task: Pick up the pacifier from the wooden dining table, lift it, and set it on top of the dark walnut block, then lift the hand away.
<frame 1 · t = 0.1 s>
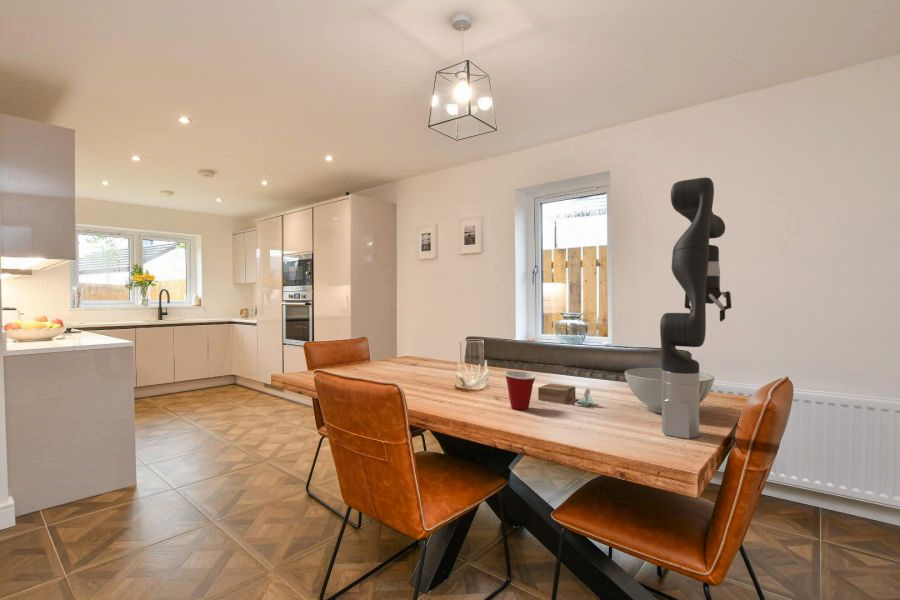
hand: (707, 320, 160), 29 cm above the table, fingers open, 8 cm apart
plastic cup: (520, 409, 153), on the table
walnut block: (556, 400, 167), on the table
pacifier: (583, 405, 158), on the table
decorative bowl: (667, 410, 150), on the table
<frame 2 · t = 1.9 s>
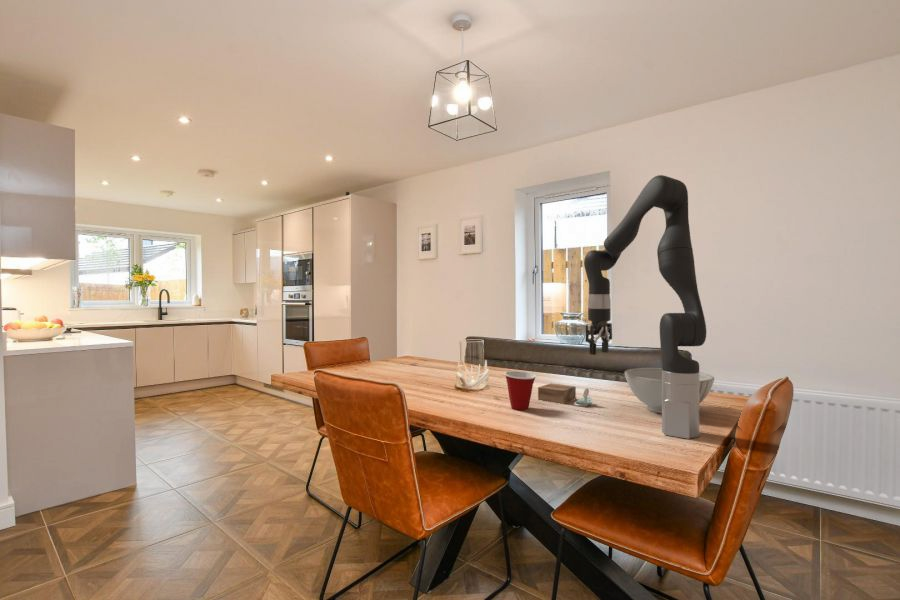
hand: (599, 353, 159), 18 cm above the table, fingers open, 8 cm apart
nothing on the table moved.
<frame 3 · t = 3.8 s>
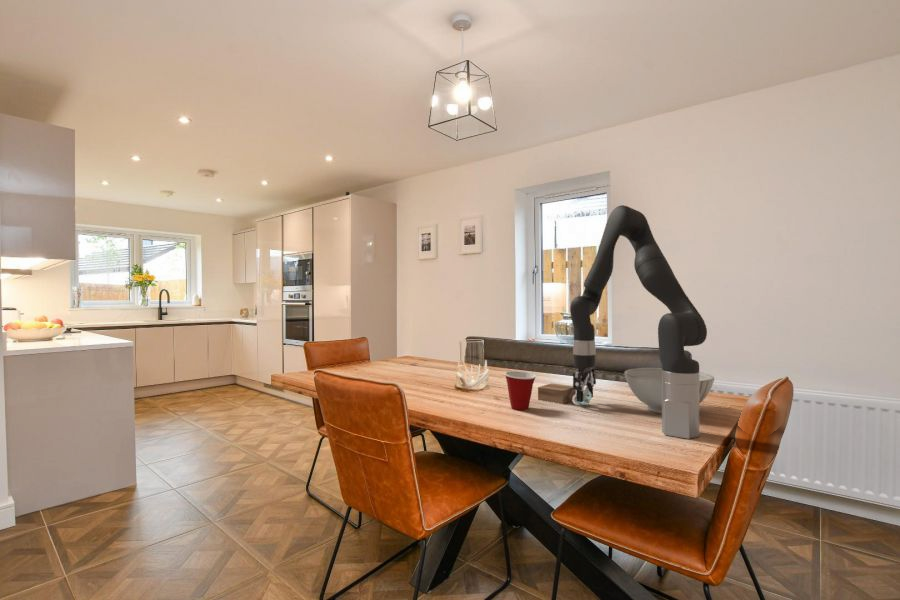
hand: (584, 399, 157), 2 cm above the table, fingers open, 8 cm apart
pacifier: (581, 401, 159), point 1 cm above the table, touching gripper
everything else where it was.
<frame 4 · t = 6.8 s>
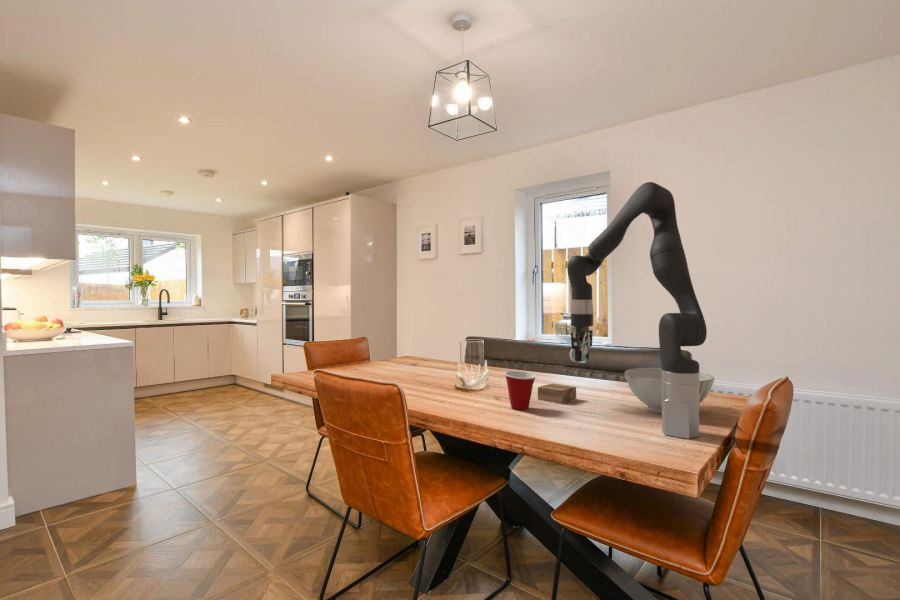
hand: (582, 360, 159), 16 cm above the table, fingers closed on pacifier, 6 cm apart
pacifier: (578, 355, 160), point 17 cm above the table, touching gripper
everything else where it was.
when the fingers open (7 cm above the table, at t = 9.5 s): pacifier drops 2 cm, resting on walnut block.
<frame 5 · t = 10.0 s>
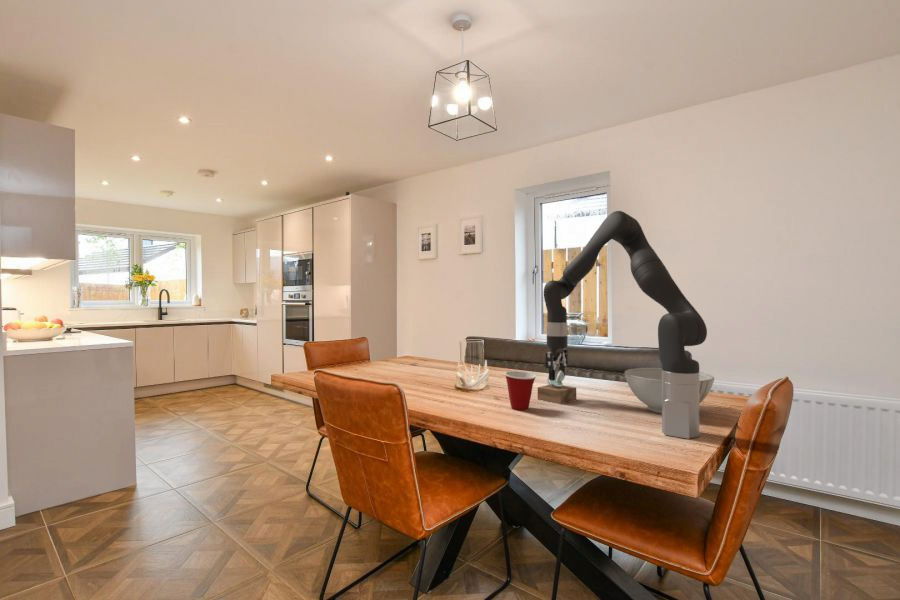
hand: (557, 378, 167), 8 cm above the table, fingers open, 8 cm apart
walnut block: (556, 401, 166), on the table, touching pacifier
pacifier: (554, 381, 169), point 6 cm above the table, touching walnut block
everything else where it was.
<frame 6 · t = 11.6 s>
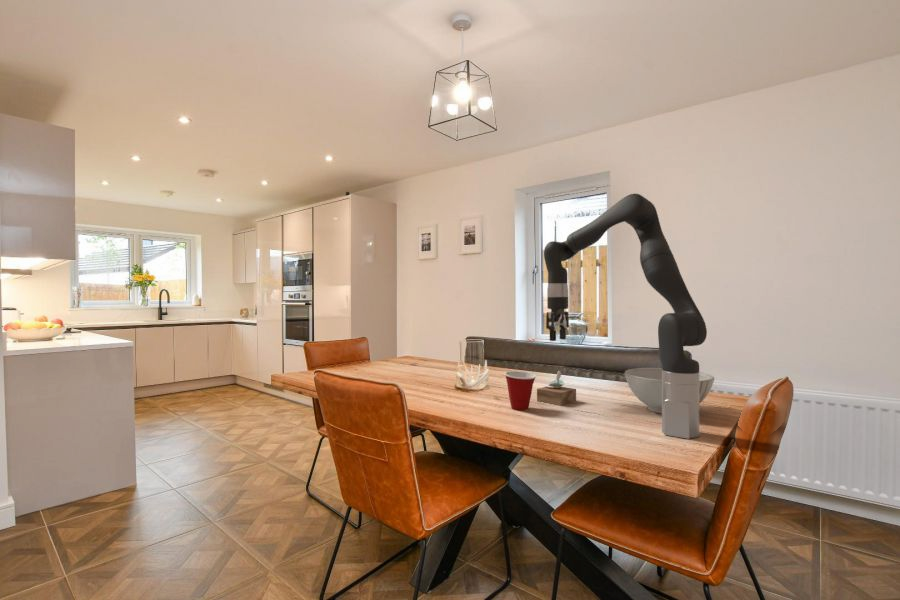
hand: (557, 340, 166), 22 cm above the table, fingers open, 8 cm apart
walnut block: (556, 402, 164), on the table, touching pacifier
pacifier: (554, 388, 166), point 4 cm above the table, touching walnut block
everything else where it was.
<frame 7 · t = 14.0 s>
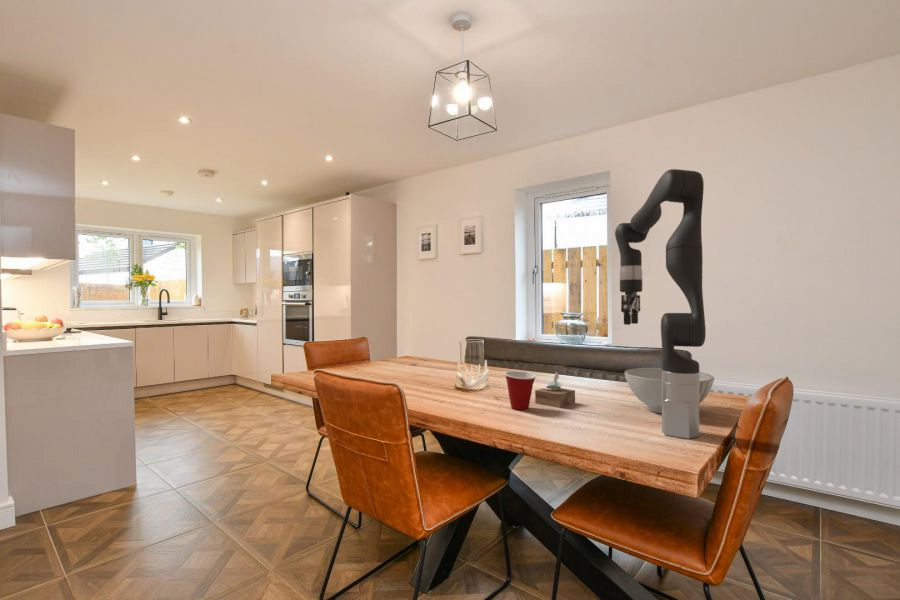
hand: (631, 324, 162), 28 cm above the table, fingers open, 8 cm apart
walnut block: (555, 404, 161), on the table, touching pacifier
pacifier: (552, 390, 162), point 4 cm above the table, touching walnut block
everything else where it was.
at the end: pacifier inside the target area on the walnut block (1.6 cm from its centre), point 4.8 cm above the walnut block's base; the gripper is holding nothing; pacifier touching walnut block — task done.
